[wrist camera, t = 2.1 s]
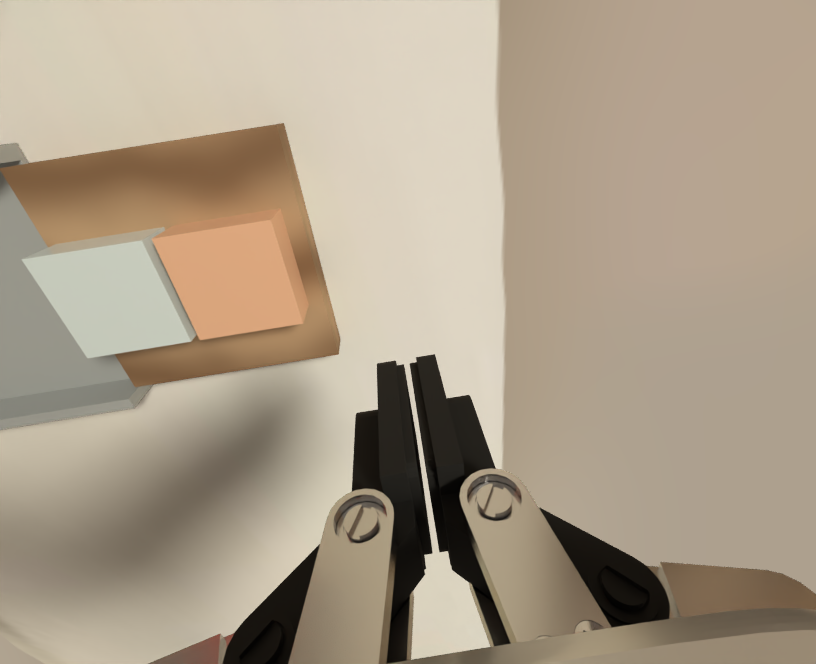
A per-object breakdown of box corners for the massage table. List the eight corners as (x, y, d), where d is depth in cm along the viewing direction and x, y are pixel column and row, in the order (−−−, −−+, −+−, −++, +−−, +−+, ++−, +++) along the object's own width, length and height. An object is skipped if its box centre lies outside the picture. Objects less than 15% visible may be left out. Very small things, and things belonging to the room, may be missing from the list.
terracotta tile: (173, 225, 22) (151, 238, 20) (280, 208, 22) (270, 219, 20) (214, 319, 25) (199, 340, 23) (308, 304, 25) (303, 323, 23)
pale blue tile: (56, 244, 22) (21, 259, 19) (164, 227, 22) (141, 240, 20) (112, 336, 25) (87, 358, 22) (206, 321, 25) (191, 341, 23)
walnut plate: (28, 163, 21) (-1, 168, 20) (283, 123, 21) (276, 124, 20) (149, 370, 28) (135, 387, 27) (340, 339, 29) (338, 354, 27)
